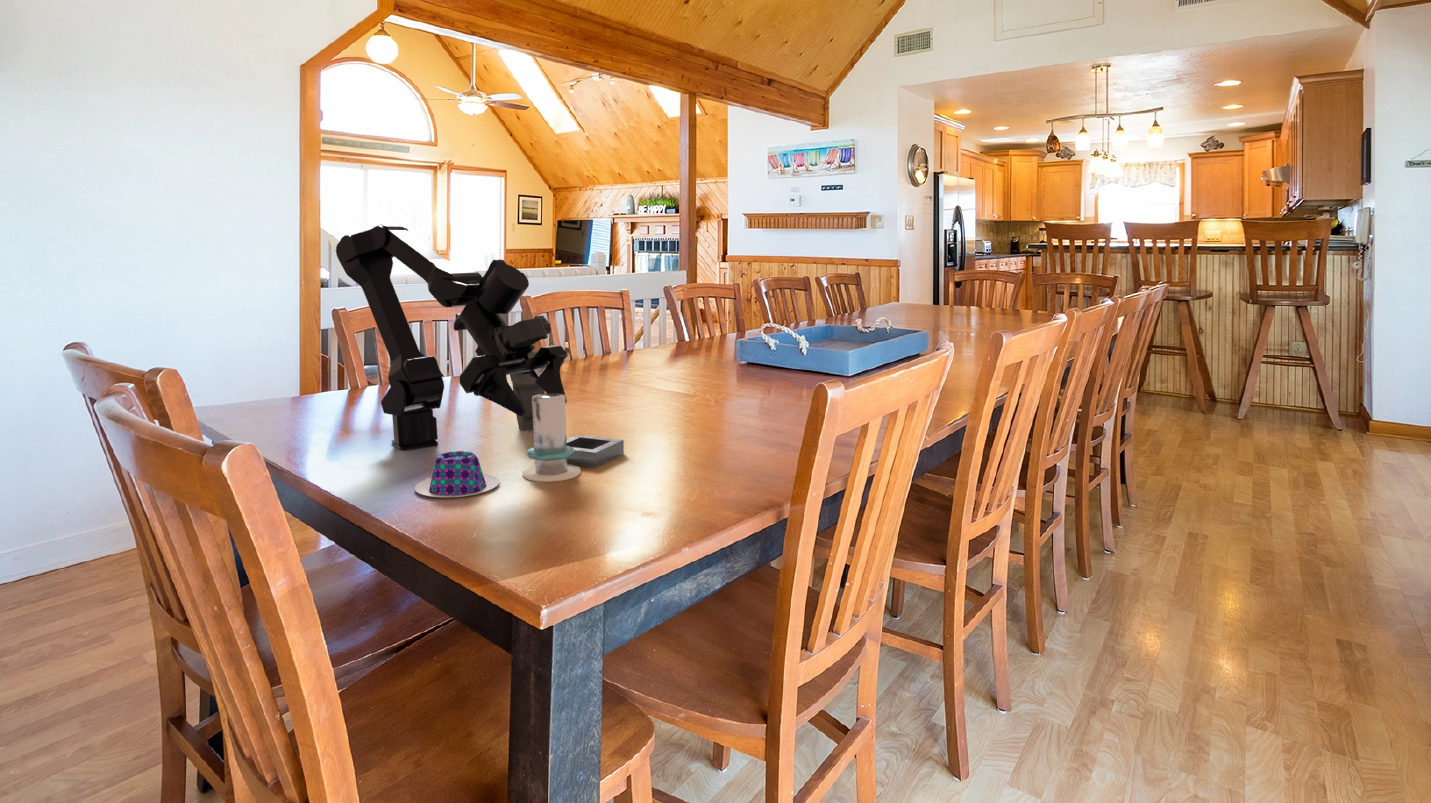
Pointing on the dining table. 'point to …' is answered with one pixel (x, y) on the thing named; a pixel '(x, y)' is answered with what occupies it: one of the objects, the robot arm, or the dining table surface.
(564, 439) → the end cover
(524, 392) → the beverage cup
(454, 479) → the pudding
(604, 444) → the box
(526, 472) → the coaster
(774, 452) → the dining table surface
